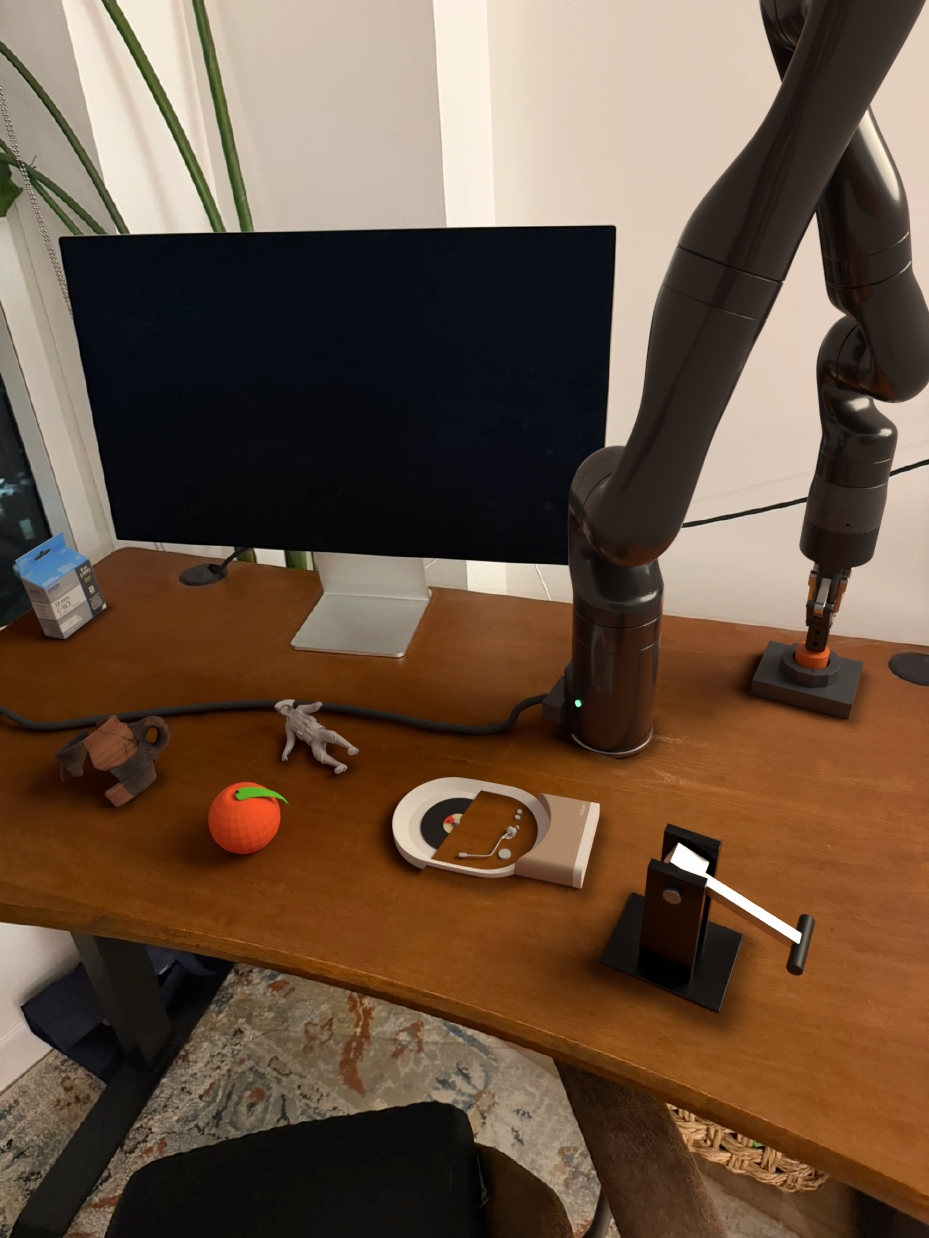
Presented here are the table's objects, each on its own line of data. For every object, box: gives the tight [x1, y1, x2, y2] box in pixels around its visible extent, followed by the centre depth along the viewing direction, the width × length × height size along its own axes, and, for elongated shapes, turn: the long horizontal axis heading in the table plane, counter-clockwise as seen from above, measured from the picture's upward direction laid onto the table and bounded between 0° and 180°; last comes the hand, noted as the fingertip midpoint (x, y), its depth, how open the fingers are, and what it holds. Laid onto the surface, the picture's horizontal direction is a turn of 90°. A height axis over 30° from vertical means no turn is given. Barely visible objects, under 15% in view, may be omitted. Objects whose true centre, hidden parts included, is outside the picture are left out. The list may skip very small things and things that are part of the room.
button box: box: [750, 640, 865, 720], centre depth 101 cm, size 11×9×4 cm
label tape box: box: [15, 531, 107, 640], centre depth 119 cm, size 9×4×12 cm, turn 159°
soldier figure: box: [273, 698, 360, 775], centre depth 96 cm, size 8×5×12 cm
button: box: [795, 640, 831, 669], centre depth 100 cm, size 4×4×2 cm
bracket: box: [599, 823, 745, 1014], centre depth 69 cm, size 10×8×13 cm
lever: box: [664, 843, 816, 977], centre depth 65 cm, size 12×5×2 cm, turn 61°
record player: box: [391, 776, 601, 890], centre depth 84 cm, size 12×3×20 cm
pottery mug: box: [54, 715, 172, 808], centre depth 94 cm, size 12×10×8 cm
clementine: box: [207, 781, 290, 855], centre depth 84 cm, size 8×7×7 cm
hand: (815, 647), depth 99 cm, fingers closed
